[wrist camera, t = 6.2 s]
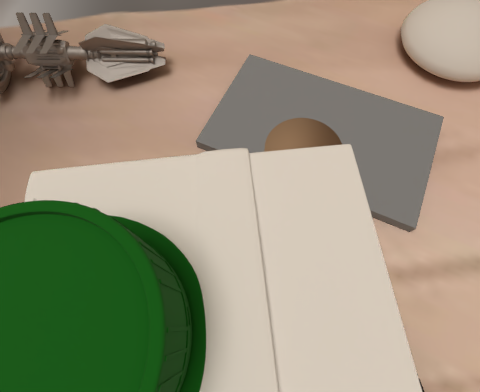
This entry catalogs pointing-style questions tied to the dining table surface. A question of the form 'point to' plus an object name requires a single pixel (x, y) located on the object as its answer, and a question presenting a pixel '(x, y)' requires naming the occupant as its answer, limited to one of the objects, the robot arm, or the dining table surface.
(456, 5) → the flower in vase
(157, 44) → the spaceship
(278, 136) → the wooden pepper mill
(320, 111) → the slate mat
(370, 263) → the soya milk
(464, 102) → the dining table surface
